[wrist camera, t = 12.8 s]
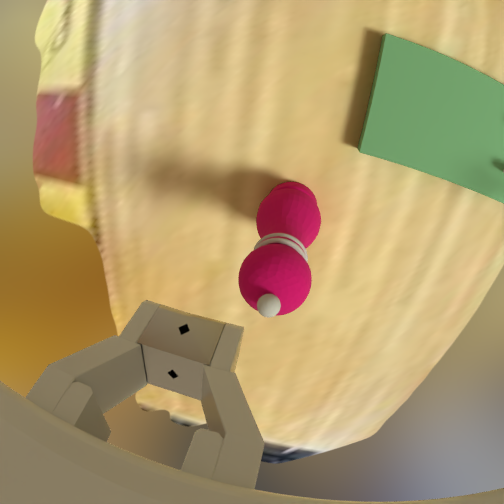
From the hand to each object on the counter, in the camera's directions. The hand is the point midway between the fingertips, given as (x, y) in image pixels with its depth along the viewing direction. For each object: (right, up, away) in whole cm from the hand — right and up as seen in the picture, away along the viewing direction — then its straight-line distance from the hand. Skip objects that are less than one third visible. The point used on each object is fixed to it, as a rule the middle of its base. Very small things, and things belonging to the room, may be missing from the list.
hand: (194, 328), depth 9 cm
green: (+28, +17, +20) cm, 39 cm away
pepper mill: (+7, +8, +31) cm, 33 cm away
